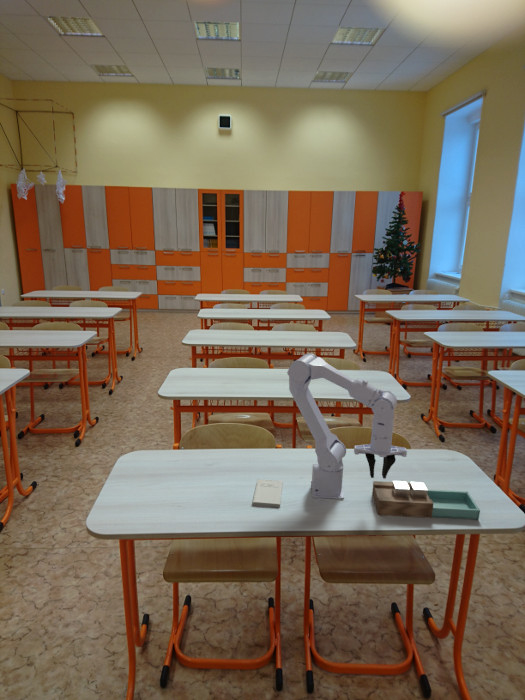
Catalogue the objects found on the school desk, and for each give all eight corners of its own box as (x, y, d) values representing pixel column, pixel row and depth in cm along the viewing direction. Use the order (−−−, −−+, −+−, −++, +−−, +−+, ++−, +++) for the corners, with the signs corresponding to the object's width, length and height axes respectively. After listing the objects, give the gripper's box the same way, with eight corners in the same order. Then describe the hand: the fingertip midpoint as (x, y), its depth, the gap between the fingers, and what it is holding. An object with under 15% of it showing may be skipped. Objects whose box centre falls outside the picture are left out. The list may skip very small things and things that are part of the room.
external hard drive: (252, 506, 130) (257, 483, 142) (280, 508, 129) (282, 485, 141) (252, 501, 130) (257, 478, 142) (280, 504, 129) (283, 480, 141)
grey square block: (394, 497, 128) (395, 488, 127) (391, 489, 132) (392, 480, 131) (408, 498, 127) (409, 489, 127) (405, 490, 131) (406, 481, 131)
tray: (431, 517, 126) (433, 507, 125) (422, 497, 135) (423, 489, 134) (478, 519, 125) (480, 510, 124) (466, 500, 134) (467, 491, 133)
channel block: (378, 514, 126) (379, 500, 125) (372, 494, 136) (373, 481, 135) (431, 517, 125) (433, 503, 124) (421, 497, 135) (423, 483, 134)
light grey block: (412, 498, 127) (413, 489, 127) (408, 490, 131) (410, 481, 130) (426, 499, 127) (427, 490, 126) (422, 491, 131) (423, 482, 130)
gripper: (357, 439, 121) (354, 482, 125) (411, 441, 121) (406, 485, 124) (354, 428, 128) (351, 469, 132) (405, 430, 127) (400, 472, 131)
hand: (377, 476), depth 129 cm, fingers open, 3 cm apart
